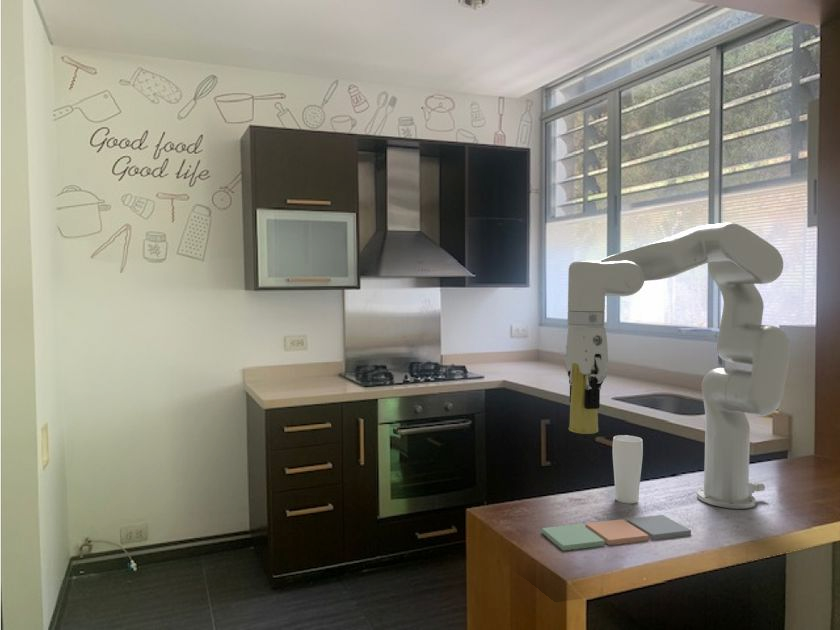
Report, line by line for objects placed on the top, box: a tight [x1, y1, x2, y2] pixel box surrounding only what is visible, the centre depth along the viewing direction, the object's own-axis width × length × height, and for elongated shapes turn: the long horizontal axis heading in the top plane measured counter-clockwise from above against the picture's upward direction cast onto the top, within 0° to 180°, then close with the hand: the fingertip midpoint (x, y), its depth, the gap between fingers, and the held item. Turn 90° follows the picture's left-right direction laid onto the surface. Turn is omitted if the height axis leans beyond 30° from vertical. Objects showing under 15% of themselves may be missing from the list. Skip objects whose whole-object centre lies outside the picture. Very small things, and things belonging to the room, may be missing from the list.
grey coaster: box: [626, 514, 692, 540], centre depth 130 cm, size 9×9×1 cm
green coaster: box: [541, 523, 606, 551], centre depth 124 cm, size 9×9×1 cm
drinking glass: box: [612, 434, 644, 505], centre depth 147 cm, size 7×7×15 cm
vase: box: [568, 363, 599, 435], centre depth 130 cm, size 6×6×14 cm
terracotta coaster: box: [584, 518, 650, 546], centre depth 127 cm, size 9×9×1 cm
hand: (584, 404), depth 130 cm, fingers closed on vase, 5 cm apart
